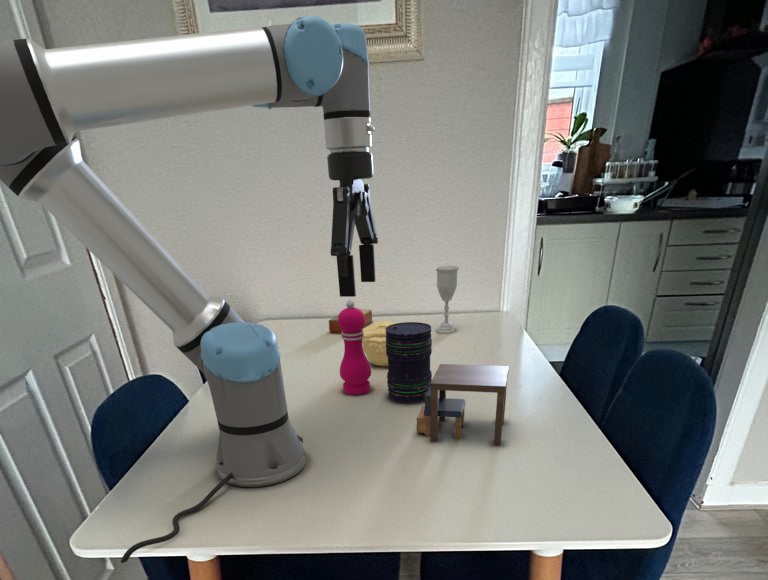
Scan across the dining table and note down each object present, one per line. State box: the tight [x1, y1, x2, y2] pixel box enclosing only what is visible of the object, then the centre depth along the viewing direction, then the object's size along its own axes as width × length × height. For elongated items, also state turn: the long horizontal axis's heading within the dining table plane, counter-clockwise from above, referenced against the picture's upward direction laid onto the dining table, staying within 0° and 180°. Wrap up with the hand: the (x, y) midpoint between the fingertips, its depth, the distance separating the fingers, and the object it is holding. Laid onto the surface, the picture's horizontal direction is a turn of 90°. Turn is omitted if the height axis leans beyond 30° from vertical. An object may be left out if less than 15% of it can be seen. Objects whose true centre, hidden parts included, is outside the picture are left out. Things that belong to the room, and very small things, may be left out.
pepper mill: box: [338, 299, 372, 396], centre depth 120 cm, size 7×7×20 cm
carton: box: [328, 308, 373, 335], centre depth 174 cm, size 8×16×4 cm, turn 158°
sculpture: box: [362, 320, 397, 367], centre depth 139 cm, size 12×12×11 cm
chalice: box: [435, 265, 460, 334], centre depth 161 cm, size 7×7×18 cm
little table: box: [430, 363, 510, 447], centre depth 101 cm, size 11×13×11 cm
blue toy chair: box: [416, 386, 466, 438], centre depth 103 cm, size 8×6×8 cm
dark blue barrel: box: [385, 321, 433, 405], centre depth 117 cm, size 10×10×15 cm
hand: (358, 288), depth 100 cm, fingers open, 13 cm apart
